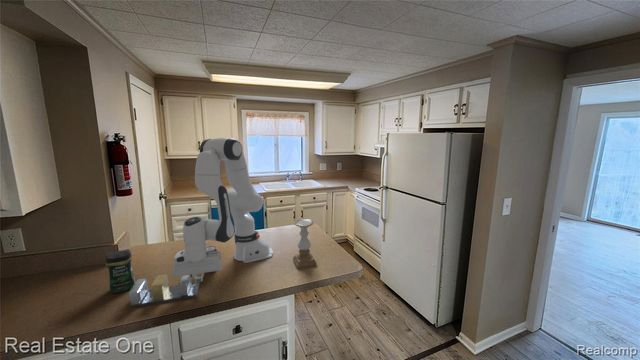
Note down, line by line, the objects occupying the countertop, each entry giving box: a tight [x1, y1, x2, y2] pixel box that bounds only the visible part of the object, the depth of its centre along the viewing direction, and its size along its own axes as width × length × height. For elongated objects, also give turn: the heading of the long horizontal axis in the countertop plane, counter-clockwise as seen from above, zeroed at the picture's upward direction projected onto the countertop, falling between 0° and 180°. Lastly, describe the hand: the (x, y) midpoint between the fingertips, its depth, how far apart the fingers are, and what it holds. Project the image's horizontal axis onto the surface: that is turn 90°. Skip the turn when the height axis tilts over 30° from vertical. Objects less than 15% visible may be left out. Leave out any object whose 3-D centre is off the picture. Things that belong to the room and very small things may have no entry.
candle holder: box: [292, 218, 317, 270], centre depth 144 cm, size 11×11×24 cm
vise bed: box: [128, 277, 201, 309], centre depth 117 cm, size 25×10×7 cm, turn 106°
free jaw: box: [178, 275, 193, 296], centre depth 122 cm, size 3×16×6 cm, turn 16°
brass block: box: [151, 273, 170, 300], centre depth 116 cm, size 4×8×7 cm, turn 15°
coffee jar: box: [105, 248, 136, 294], centre depth 121 cm, size 10×8×19 cm
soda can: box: [207, 245, 218, 252], centre depth 138 cm, size 7×7×12 cm
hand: (199, 281), depth 120 cm, fingers closed
